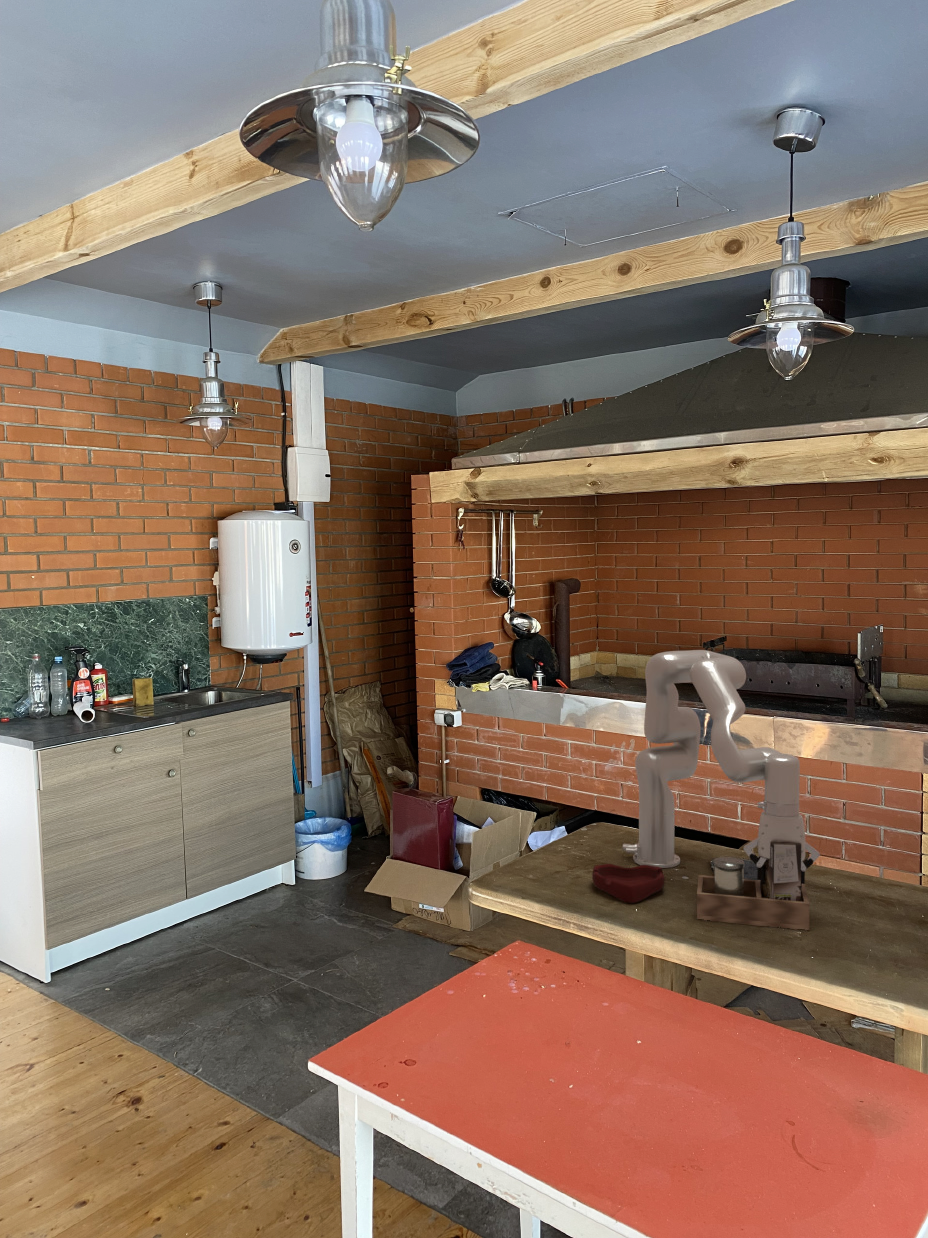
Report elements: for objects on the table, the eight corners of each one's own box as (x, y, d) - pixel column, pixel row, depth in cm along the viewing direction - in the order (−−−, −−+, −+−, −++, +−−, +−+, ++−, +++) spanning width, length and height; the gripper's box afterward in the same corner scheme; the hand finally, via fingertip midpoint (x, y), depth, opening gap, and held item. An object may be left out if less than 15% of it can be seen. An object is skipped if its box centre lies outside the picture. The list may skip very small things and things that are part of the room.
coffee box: (801, 915, 198) (802, 844, 197) (772, 915, 198) (773, 844, 197) (787, 900, 207) (788, 832, 206) (760, 900, 207) (760, 832, 206)
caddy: (696, 919, 201) (696, 893, 201) (698, 899, 214) (698, 875, 213) (809, 930, 194) (809, 904, 194) (804, 909, 207) (804, 884, 206)
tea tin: (713, 912, 203) (713, 865, 203) (713, 901, 210) (714, 856, 209) (744, 915, 201) (744, 867, 201) (743, 904, 208) (744, 858, 207)
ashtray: (593, 905, 211) (593, 884, 211) (591, 881, 228) (591, 862, 227) (669, 907, 209) (669, 887, 209) (662, 884, 225) (662, 864, 225)
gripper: (742, 810, 200) (741, 886, 201) (824, 815, 195) (823, 894, 196) (741, 802, 207) (740, 875, 208) (820, 807, 202) (819, 882, 203)
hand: (780, 884), depth 202 cm, fingers closed on coffee box, 7 cm apart
